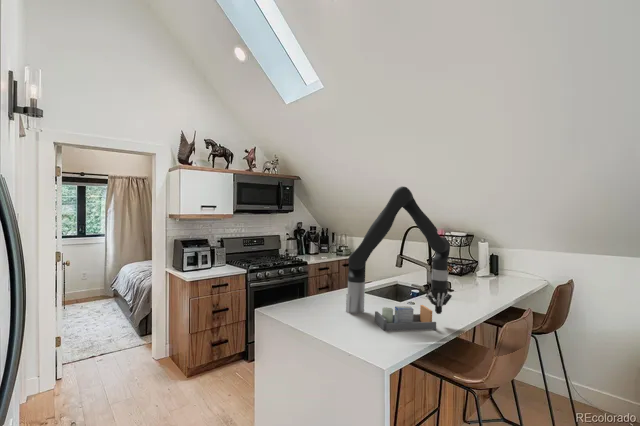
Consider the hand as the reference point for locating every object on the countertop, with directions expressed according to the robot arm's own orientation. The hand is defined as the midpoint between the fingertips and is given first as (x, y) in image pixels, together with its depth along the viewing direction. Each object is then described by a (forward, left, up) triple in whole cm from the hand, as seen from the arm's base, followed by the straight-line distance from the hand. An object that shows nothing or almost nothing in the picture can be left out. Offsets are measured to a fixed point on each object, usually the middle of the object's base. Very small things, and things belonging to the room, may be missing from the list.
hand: (438, 313), depth 161 cm
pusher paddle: (-7, 0, -5) cm, 8 cm away
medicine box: (-18, 0, -5) cm, 19 cm away
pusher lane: (-18, 0, -6) cm, 19 cm away
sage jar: (-26, 0, -5) cm, 27 cm away
